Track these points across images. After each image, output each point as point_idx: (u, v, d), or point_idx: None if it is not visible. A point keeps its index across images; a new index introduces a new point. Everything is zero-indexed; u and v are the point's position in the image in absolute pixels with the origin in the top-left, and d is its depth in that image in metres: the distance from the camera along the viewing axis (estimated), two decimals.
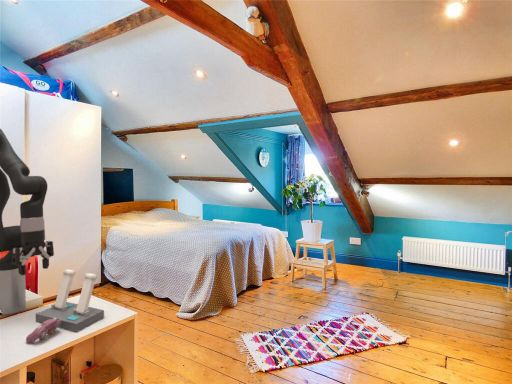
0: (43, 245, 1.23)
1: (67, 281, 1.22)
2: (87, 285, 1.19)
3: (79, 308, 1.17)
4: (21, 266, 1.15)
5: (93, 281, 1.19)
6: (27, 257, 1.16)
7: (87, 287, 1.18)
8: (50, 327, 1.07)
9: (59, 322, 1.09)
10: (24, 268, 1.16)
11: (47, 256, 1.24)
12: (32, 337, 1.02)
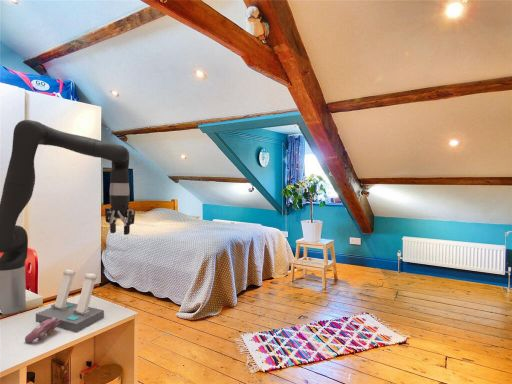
0: None
1: (67, 281, 1.22)
2: (87, 285, 1.19)
3: (79, 308, 1.17)
4: None
5: (93, 281, 1.19)
6: None
7: (87, 287, 1.18)
8: (49, 327, 1.07)
9: (58, 322, 1.10)
10: None
11: None
12: (30, 337, 1.02)
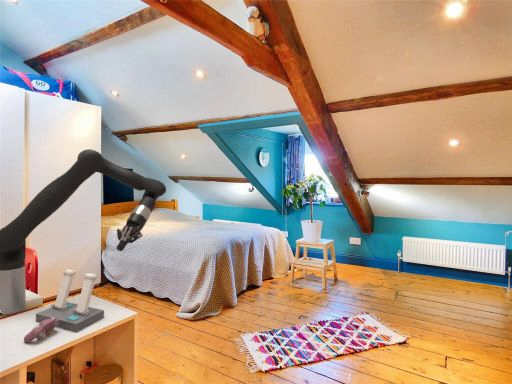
0: None
1: (67, 281, 1.22)
2: (87, 285, 1.19)
3: (79, 308, 1.17)
4: None
5: (93, 281, 1.19)
6: None
7: (87, 287, 1.18)
8: (48, 327, 1.07)
9: (57, 322, 1.10)
10: None
11: None
12: (29, 337, 1.02)
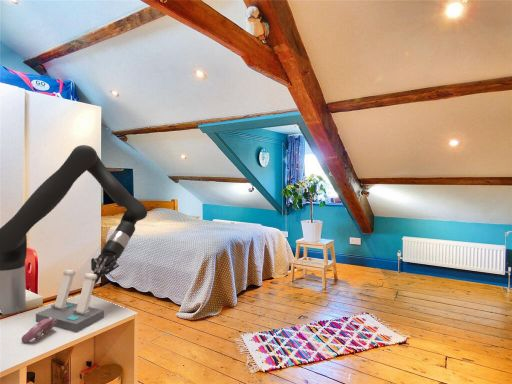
0: None
1: (67, 281, 1.22)
2: (87, 285, 1.19)
3: (79, 308, 1.17)
4: None
5: (93, 281, 1.19)
6: None
7: (87, 287, 1.18)
8: (46, 327, 1.07)
9: (55, 322, 1.10)
10: None
11: None
12: (27, 336, 1.02)
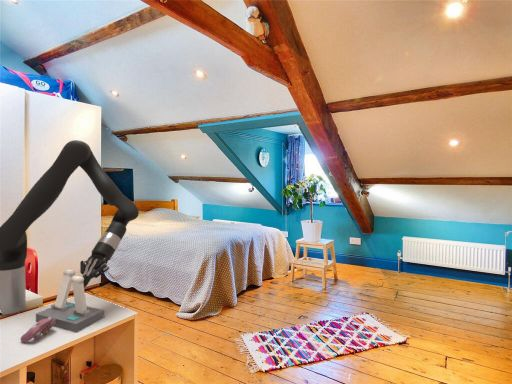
0: None
1: (67, 281, 1.22)
2: (77, 289, 1.15)
3: (78, 309, 1.16)
4: None
5: (81, 284, 1.15)
6: None
7: (77, 290, 1.15)
8: (45, 327, 1.07)
9: (54, 322, 1.10)
10: None
11: None
12: (26, 336, 1.02)
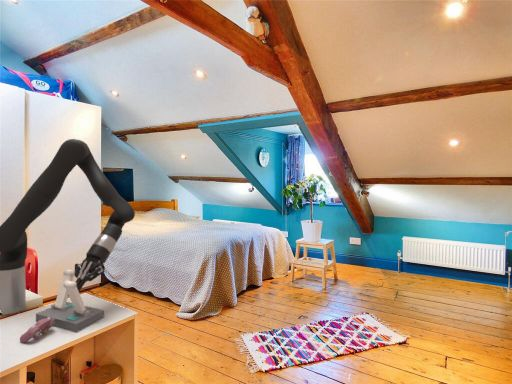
0: None
1: None
2: (71, 293, 1.13)
3: (77, 310, 1.16)
4: None
5: (75, 288, 1.12)
6: None
7: (72, 294, 1.13)
8: (44, 326, 1.07)
9: (53, 321, 1.10)
10: None
11: None
12: (25, 336, 1.02)
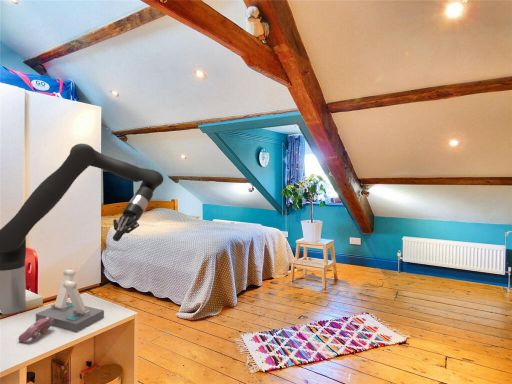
0: None
1: None
2: (71, 293, 1.13)
3: (77, 310, 1.16)
4: None
5: (75, 288, 1.12)
6: None
7: (72, 294, 1.13)
8: (43, 326, 1.07)
9: (52, 321, 1.10)
10: None
11: None
12: (24, 336, 1.02)
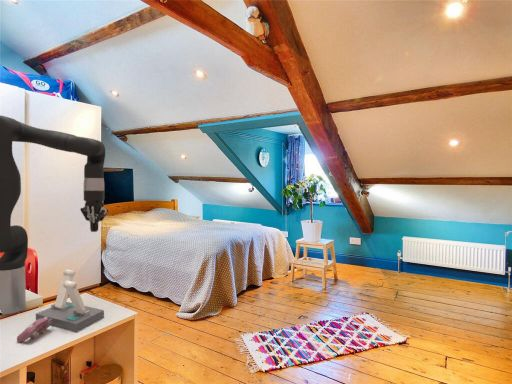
0: None
1: None
2: (71, 293, 1.13)
3: (77, 310, 1.16)
4: None
5: (75, 288, 1.12)
6: None
7: (72, 294, 1.13)
8: (41, 326, 1.07)
9: (50, 321, 1.10)
10: None
11: None
12: (23, 336, 1.02)
